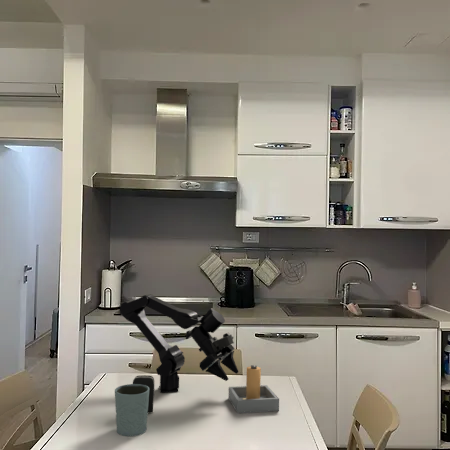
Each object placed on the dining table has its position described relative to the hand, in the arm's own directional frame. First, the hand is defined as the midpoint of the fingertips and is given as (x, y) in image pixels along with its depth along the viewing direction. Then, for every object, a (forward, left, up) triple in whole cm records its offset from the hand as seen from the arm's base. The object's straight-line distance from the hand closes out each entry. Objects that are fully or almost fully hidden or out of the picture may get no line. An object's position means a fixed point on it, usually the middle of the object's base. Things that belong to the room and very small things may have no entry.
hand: (232, 376), depth 167 cm
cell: (+6, -4, -7) cm, 11 cm away
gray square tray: (+6, -4, -8) cm, 11 cm away
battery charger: (-31, -5, -9) cm, 32 cm away
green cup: (-35, -19, -9) cm, 41 cm away
